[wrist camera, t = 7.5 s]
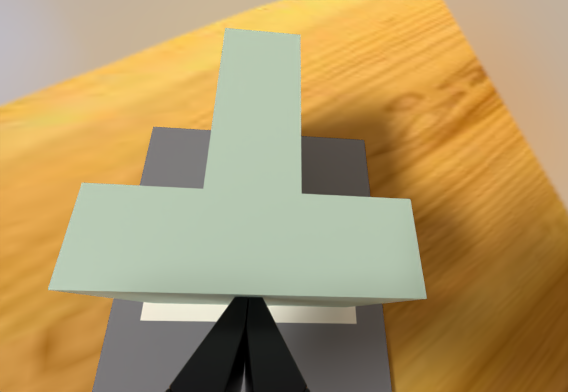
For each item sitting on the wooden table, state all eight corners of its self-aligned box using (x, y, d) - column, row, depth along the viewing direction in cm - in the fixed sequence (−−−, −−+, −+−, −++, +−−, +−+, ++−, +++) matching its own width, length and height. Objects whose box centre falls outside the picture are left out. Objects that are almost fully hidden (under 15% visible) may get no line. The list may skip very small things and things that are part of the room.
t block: (345, 307, 15) (426, 298, 8) (152, 303, 15) (47, 289, 7) (335, 147, 19) (384, 42, 12) (183, 137, 18) (134, 19, 11)
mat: (413, 613, 11) (417, 620, 11) (39, 636, 10) (33, 645, 10) (362, 142, 20) (364, 140, 20) (154, 129, 19) (153, 126, 19)
